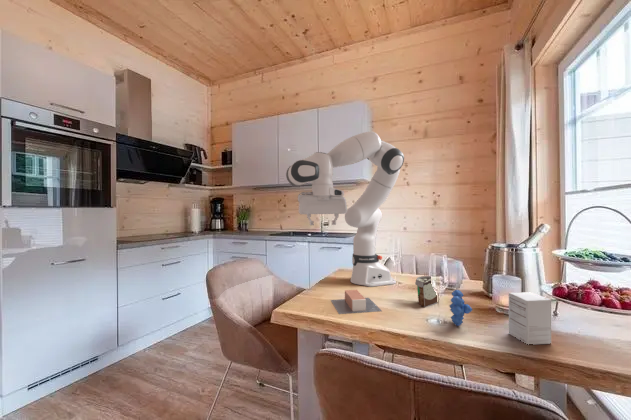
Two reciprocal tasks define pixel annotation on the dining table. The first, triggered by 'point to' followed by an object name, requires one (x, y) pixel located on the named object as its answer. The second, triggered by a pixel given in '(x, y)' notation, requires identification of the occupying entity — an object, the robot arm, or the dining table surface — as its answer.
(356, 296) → the block
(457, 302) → the grapes
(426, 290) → the food container
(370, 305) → the slate board
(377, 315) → the dining table surface
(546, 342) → the white drawer cabinet
